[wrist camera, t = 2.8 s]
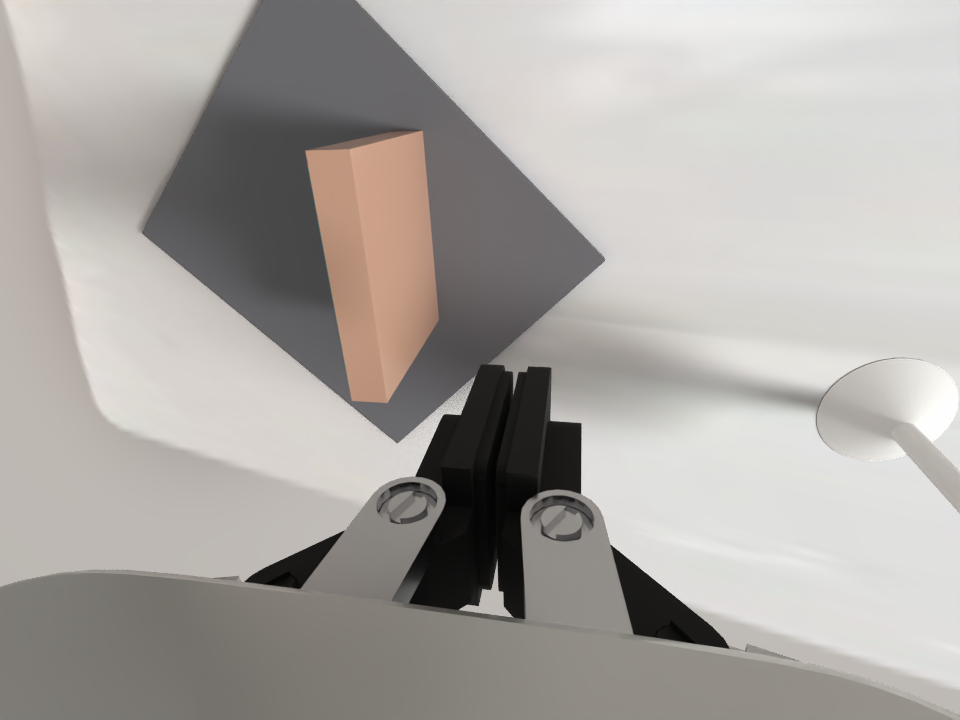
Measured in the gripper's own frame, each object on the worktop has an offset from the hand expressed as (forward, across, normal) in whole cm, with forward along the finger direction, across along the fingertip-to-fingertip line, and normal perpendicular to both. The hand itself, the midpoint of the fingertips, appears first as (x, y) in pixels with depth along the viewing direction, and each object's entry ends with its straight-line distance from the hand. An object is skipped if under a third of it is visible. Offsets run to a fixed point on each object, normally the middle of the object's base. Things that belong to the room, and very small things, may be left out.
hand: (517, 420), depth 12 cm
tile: (+16, +7, -1) cm, 18 cm away
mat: (+17, +11, 0) cm, 20 cm away
